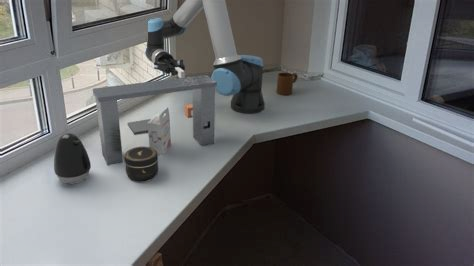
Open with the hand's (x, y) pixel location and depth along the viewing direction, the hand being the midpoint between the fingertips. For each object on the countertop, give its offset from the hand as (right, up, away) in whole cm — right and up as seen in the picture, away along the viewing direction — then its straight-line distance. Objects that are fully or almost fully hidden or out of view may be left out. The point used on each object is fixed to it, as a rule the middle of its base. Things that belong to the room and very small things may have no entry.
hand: (182, 75), depth 158 cm
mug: (+46, -2, +46) cm, 65 cm away
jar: (-9, -35, -29) cm, 47 cm away
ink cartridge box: (-6, -28, -13) cm, 32 cm away
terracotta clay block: (+6, -18, -5) cm, 19 cm away
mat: (-16, -20, +3) cm, 26 cm away
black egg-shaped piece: (-29, -36, -33) cm, 57 cm away
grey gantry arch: (-6, -28, -13) cm, 31 cm away
